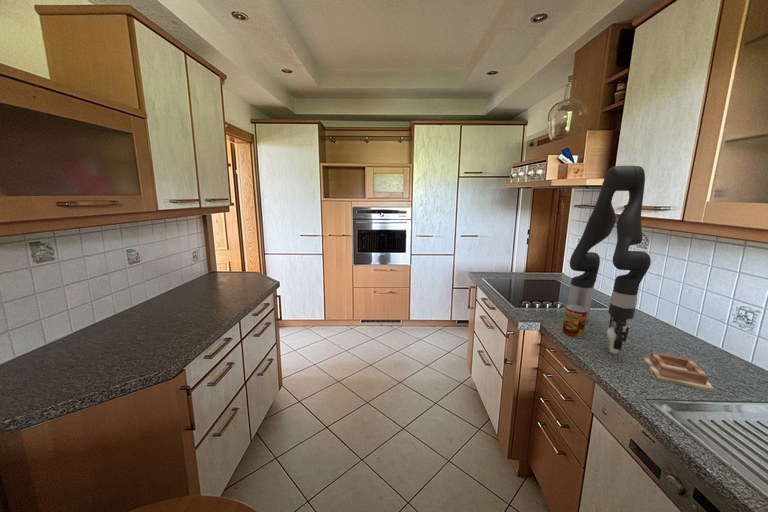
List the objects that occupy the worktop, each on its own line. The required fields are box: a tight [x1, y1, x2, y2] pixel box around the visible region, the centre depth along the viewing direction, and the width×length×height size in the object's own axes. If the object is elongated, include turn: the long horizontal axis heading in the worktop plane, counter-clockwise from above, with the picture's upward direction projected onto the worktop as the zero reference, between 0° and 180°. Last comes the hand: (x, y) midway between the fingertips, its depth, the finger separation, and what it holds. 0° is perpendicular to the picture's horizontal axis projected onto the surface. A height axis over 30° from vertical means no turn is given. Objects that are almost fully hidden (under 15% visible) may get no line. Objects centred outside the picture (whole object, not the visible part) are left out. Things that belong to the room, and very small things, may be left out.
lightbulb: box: [606, 326, 624, 355], centre depth 114 cm, size 6×6×11 cm
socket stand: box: [642, 351, 716, 393], centre depth 102 cm, size 14×14×4 cm
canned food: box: [561, 304, 588, 339], centre depth 130 cm, size 8×8×12 cm
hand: (614, 344), depth 115 cm, fingers open, 6 cm apart
